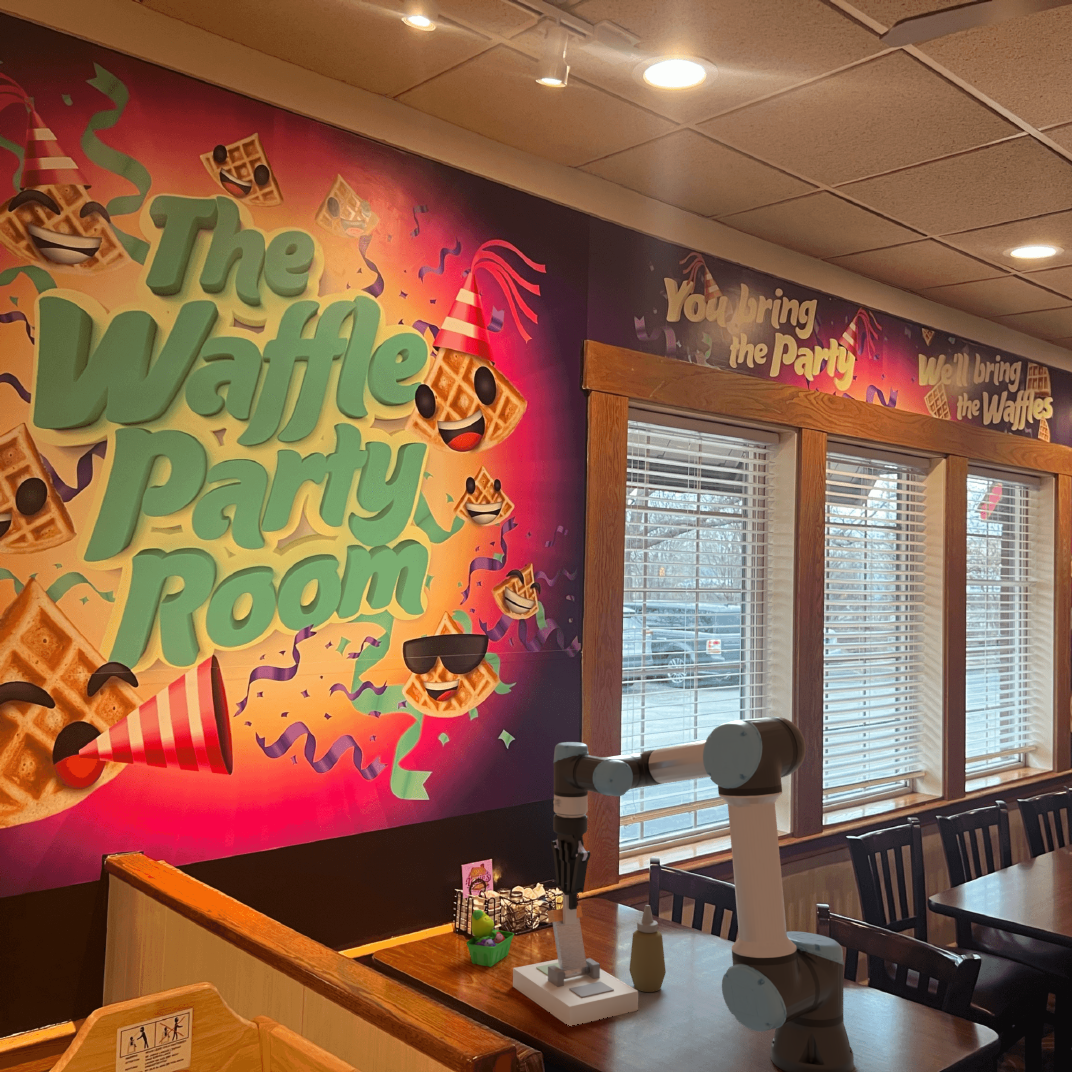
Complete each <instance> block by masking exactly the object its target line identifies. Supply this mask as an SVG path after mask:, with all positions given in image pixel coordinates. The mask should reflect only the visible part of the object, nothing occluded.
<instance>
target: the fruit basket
mask: <svg viewBox="0 0 1072 1072" xmlns="http://www.w3.org/2000/svg"><path fill="white" fill-rule="evenodd" d="M494 927H495V923H494V920H493V919H492V918H491V917H490V916H489V915H488V914H487V913H485V912H484V911H483V910H482V909H475V910H474V911H473V913H472V915H471V927H470V928H471V932H472V934H473V936H472V938H470V939H469V940H467V941H466V942H465V943H466V946H467V948H468V952H469V956H470V959H471V960H470V961H471V963H472V964H473V965H479V966H483V967H488V968H491V967H493V966H495V964H498V962H499V961H502V960H503V959H504V958H506V957H507V956H509V952H510V948H511V944H512V941H513V938H514V935H515V933H513V932H510V931H504V930H499V929H495V928H494Z"/></svg>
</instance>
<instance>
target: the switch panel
mask: <svg viewBox="0 0 1072 1072" xmlns="http://www.w3.org/2000/svg"><path fill="white" fill-rule="evenodd" d="M586 963H587V965H588V966H589V969H590V972H589V974H587V975H583V976H578V977H573V978H569V979H564V971H563V970H561V969H560V968H559V962H558V958H557V959H552V960H548V961H547V960H546V961H543V962H537V963H533V964H527V965H523V966H517V967H513V969H512V987H513V988H515V989H516V990H517V991H518V992H520V993H521V994H523V995H524V996H526V997H527V998H528V999H529V1000H531V1001H533V1002H534V1003H535V1004H537V1005H538V1006H540V1007H541V1008H543V1009H544V1010H546V1012H548V1013H549V1012H550V1014H551V1015H552V1016H553V1017H555V1018H556V1019H558V1021H561V1022H562V1023H564V1024H565V1025H566V1024H567V1026H568V1025H569V1026H571V1027H573V1026H572V1025H575V1026H578V1025H577V1024H579V1025H582V1023H583V1024H588V1023H591V1021H592V1022H596V1021H599V1019H600V1020H604V1019H608V1018H612V1016H613V1017H617V1016H621V1015H624V1014H629V1013H632V1012H637V1010H638V1011H639V990H637V989H636V988H635V987H633V986H630V985H629V984H627V983H625V982H624V981H622V980H621V979H618V978H617V977H616V976H613V975H611V974H610V973H608V972H607V971H605V970H604V969H602V968H601V964H600V963H599V962H598V961H595V960H594V959H593V958H591V957H588V958H586ZM628 1012H629V1013H628ZM607 1017H608V1018H607ZM603 1018H604V1019H603ZM569 1026H568V1027H569Z"/></svg>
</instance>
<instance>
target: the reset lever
mask: <svg viewBox="0 0 1072 1072" xmlns="http://www.w3.org/2000/svg"><path fill="white" fill-rule="evenodd" d="M582 909H583V908H582V905H577V918H576V923H574V924H568V925H565V924H563V908H558V909H551V910H547V912H546V913H547V920H548V923H549V924H550V923H552V928H553V935H554V941H555V942H554V943H555V949H556V955H557V959H558V962H559V968H560V969H561V970H563V971H564V979H569V978H573V977H578V976H583V975H587V974H589V972H590V969H589V966H588V965H587V963H586V959H587V957H586V952H585V947H584V946H585V945H584V939H583V934H582V927H581V921H580V918H583V915H584V914H583V910H582Z"/></svg>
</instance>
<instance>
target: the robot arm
mask: <svg viewBox="0 0 1072 1072" xmlns="http://www.w3.org/2000/svg"><path fill="white" fill-rule="evenodd" d="M806 752H807V746H806V740H805V737H804V734H803V733H802V731H801V729H800V728H799V726H797V725H796V724H795V723H794V722H792V721H790V720H789V719H787V718H785V717H781V716H772V715H771V716H765V717H757V718H747V719H737V720H731V721H728V722H724V723H721V724H719V725H718V726H716V727H715V728H714V729H713V730H712V731H711V733H710V734H709V735H708V737H707V738H706V739H702V740H698V741H694V742H689V743H683V744H677V745H676V744H675V745H672V746H667V747H662V748H657V749H651V750H644V751H640V752H639V751H638V752H633V753H628V754H627V753H626V754H618V755H610V756H605V757H604V756H596V755H591V754H590V753H589V747H588V744H587V743H584V742H577V741H566V742H565V741H564V742H559V743H557V744H556V745H555V747H554V755H553V762H552V763H553V801H552V802H553V812H554V813H555V814H553V819H552V821H553V823H552V824H553V827H552V828H553V832H554V833H556V834H557V835H556V839H555V840H551V842H550V846H551V849H552V854H553V863H554V872H555V880H556V887H558V888H560V890H561V892H562V909H563V924H565V925H568V924H574V923H576V918H577V906H578V894H581V893H584V889H585V883H586V877H587V870H588V869H587V868H588V863H589V860H590V857H591V851H590V850H586V849H585V848H584V846H585V845H584V844H585V843H584V837H583V835H585V834H586V833H587V832H588V815H587V813H588V812H589V804H588V803H589V801H588V799H589V798H588V797H589V795H588V793H589V792H592V793H595V794H600V795H604V796H607V797H612V796H613V797H622V796H624V795H625V794H626V793H627V792H629V790H634V789H639V788H640V789H641V788H644V787H652V786H653V787H654V786H659V785H662V784H663V785H664V784H670V783H677V782H684V781H690V780H696V779H704V778H709V779H710V780H711V781H712V782H713V783H714V784H716V785H717V791H718V796H719V797H720V798H721V799H722V800H723V801H724V802H725V803H726V804H727V812H728V823H729V824H728V825H729V835H730V846H731V857H732V858H731V859H732V867H733V868H732V870H733V880H734V881H733V883H734V891H735V892H734V893H735V904H736V905H735V906H736V915H737V926H738V927H737V928H738V929H737V930H738V938H737V939H736V940H735V942H734V943H733V944H732V945H731V957H732V958H731V960H732V966H729V967H728V969H727V970H726V973H724V974H723V977H722V982H721V994H722V997H723V1000H724V1002H725V1005H726V1007H727V1009H728V1011H729V1012H730V1014H731V1015H732V1016H734V1017H735V1020H737V1022H738V1023H740V1024H741V1025H742V1026H744V1028H746V1029H749V1030H751V1031H753V1032H759V1033H760V1032H761V1033H762V1032H768V1031H770V1030H774V1034H773V1038H772V1039H771V1041H770V1042H771V1043H770V1059H771V1061H772V1063H773V1065H775V1066H776V1067H777V1068H778V1069H779V1070H782V1071H783V1072H853V1070H854V1066H855V1065H854V1063H855V1062H854V1051H853V1049H852V1046H851V1045H850V1039H849V1035H848V1032H847V1029H846V1026H845V1022H844V1018H845V1017H844V966H845V962H844V953H843V951H844V950H843V947H842V946H841V944H840V943H839V942H838V941H837V940H835V939H833V938H831V937H828V936H825V935H821V934H818V933H814V932H813V933H812V932H805V931H793V930H792V931H788V930H787V922H786V921H787V920H786V911H785V909H786V908H785V899H784V888H783V880H782V879H783V878H782V877H783V876H782V867H781V855H780V846H779V845H780V844H779V834H778V832H779V831H778V823H777V812H776V801H777V799H778V798H780V796H782V794H783V787H782V786H783V785H782V778H785V777H787V776H789V775H792V774H794V773H795V772H797V770H799V768H800V767H801V765H802V764H803V762H804V760H805V757H806Z"/></svg>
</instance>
